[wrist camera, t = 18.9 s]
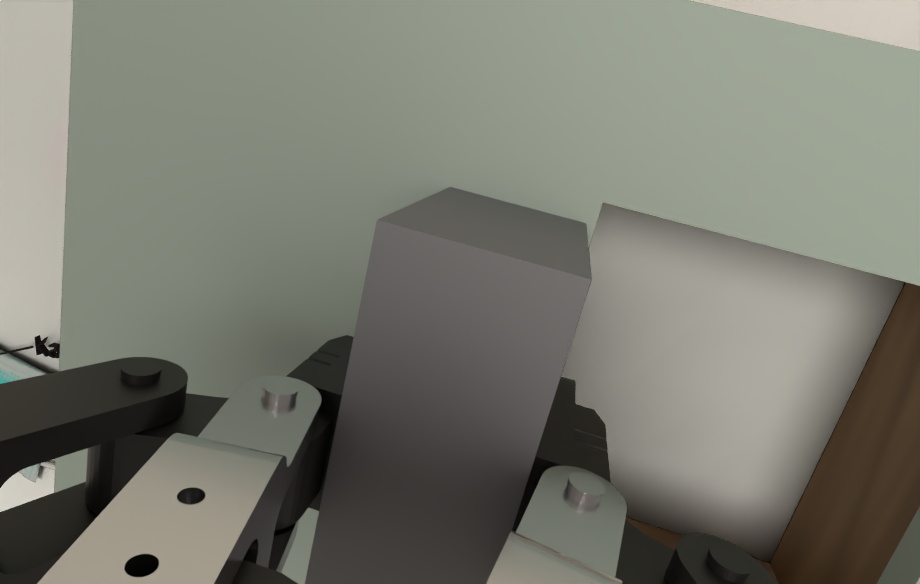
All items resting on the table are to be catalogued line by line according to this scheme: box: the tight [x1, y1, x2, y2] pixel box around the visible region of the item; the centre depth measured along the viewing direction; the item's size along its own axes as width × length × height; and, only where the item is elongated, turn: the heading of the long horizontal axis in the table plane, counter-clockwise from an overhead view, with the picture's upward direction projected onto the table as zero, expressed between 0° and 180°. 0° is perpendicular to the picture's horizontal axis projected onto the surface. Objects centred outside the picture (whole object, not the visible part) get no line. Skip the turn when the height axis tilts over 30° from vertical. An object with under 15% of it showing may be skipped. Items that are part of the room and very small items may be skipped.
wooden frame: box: [625, 282, 920, 584], centre depth 17 cm, size 22×15×5 cm
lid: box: [54, 0, 920, 584], centre depth 12 cm, size 24×17×6 cm
